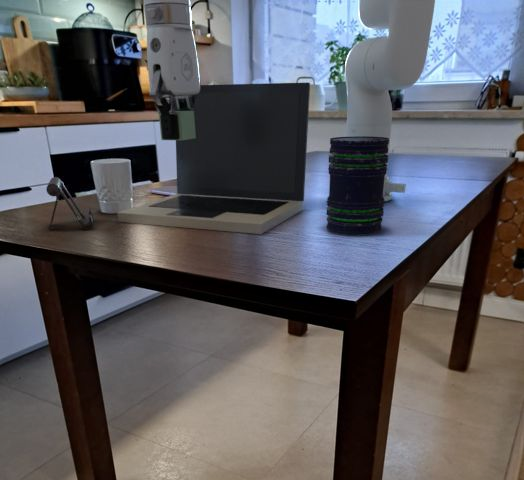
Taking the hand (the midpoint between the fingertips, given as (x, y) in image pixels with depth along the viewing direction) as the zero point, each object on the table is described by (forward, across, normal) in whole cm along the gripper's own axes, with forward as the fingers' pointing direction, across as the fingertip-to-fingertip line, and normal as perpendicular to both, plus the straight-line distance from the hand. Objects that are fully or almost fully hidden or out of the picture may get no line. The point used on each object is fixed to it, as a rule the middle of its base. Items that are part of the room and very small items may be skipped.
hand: (178, 137), depth 94 cm
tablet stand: (+15, -12, +18) cm, 26 cm away
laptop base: (+15, +5, -4) cm, 16 cm away
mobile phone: (+15, +25, +16) cm, 34 cm away
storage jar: (+15, +3, -32) cm, 36 cm away
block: (0, 0, 0) cm, 0 cm away
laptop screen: (+2, +17, -4) cm, 18 cm away
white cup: (+15, +3, +18) cm, 24 cm away
